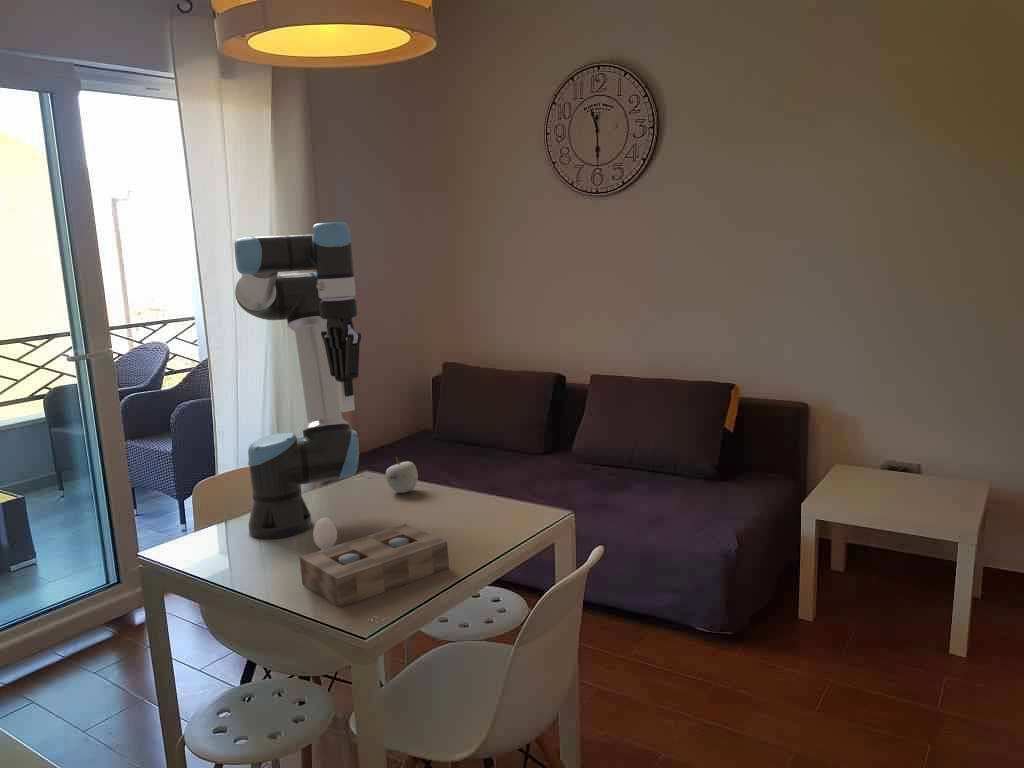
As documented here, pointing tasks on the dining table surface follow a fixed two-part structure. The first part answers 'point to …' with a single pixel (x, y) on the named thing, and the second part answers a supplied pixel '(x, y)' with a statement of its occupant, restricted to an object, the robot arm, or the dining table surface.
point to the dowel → (348, 558)
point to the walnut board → (373, 565)
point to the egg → (325, 533)
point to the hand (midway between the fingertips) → (347, 410)
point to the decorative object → (402, 476)
